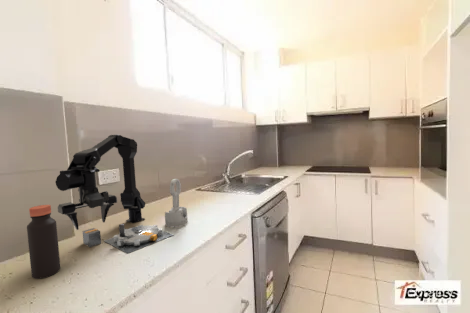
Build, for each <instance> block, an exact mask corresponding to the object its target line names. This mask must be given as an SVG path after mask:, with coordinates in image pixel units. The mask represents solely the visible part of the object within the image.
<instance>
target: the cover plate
mask: <svg viewBox="0 0 470 313" xmlns="http://www.w3.org/2000/svg"><path fill="white" fill-rule="evenodd" d="M173 236H174V234H172V233H169V232H167V231H163V230H162V234H159V235H158V237H157V239H156V240H154V241H152V240H151V241H149V242H146V243H142V244H140V245H137V246H134V245H122V246H119V245H117V241H114V236H113V237H111V238H108V239H104V240H103V242H104V243H106V244H108V245H109V246H110V245H111V246H112V247H114V248H116V249H118V250H119V251H122V252H124V253H126V254H130V253H133V252H135V251H138V250H140V249H143V248H145V247H146V248H147V246H151V245H153V244H155V243H157V242H160V241H163V240H165V239H168V238H171V237H173Z"/></svg>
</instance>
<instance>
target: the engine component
mask: <svg viewBox="0 0 470 313" xmlns="http://www.w3.org/2000/svg"><path fill="white" fill-rule="evenodd" d="M175 185H176V186H175ZM175 187H176V190H175ZM181 191H182V184H181V181H180V179H178V178H173V179H171V181H170V183H169V193H170V195H171V198H172V207H171V208H170V209H169V210H168V211H165V212H164V219H165V221H164V222H165V223H164V224H165V226H166V227H168V228H175V227H176V228H177V227H182V226H185V225H187V224H188V223H189V221H188V220H189V219H188V210H187V207H186V206H180V194H181Z"/></svg>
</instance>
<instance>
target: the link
mask: <svg viewBox="0 0 470 313" xmlns="http://www.w3.org/2000/svg"><path fill="white" fill-rule="evenodd" d="M82 239H83V240H82V241H83V245H85V246H86V247H88V248H92V247H95V246H98V245H101V244H102V236H101V230H99V229H97V228H95V227H93V228H88V229H85V230H82Z"/></svg>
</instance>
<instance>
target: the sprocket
mask: <svg viewBox="0 0 470 313" xmlns="http://www.w3.org/2000/svg"><path fill="white" fill-rule="evenodd" d="M118 231H119V232H118V234H115V235H113V237H114V241H117V245H119V246H122V245H134V246H137V245H140V244H142V243H146V242H149V241H151V240H152V241H154V240H156V239H157V237H158V235H159V234H162V231H163V228H159V227H158V225H157V224H153V225H143V224H141V225H137V226H133V227H129V228H125V224H124V223H120V224H118Z"/></svg>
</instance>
